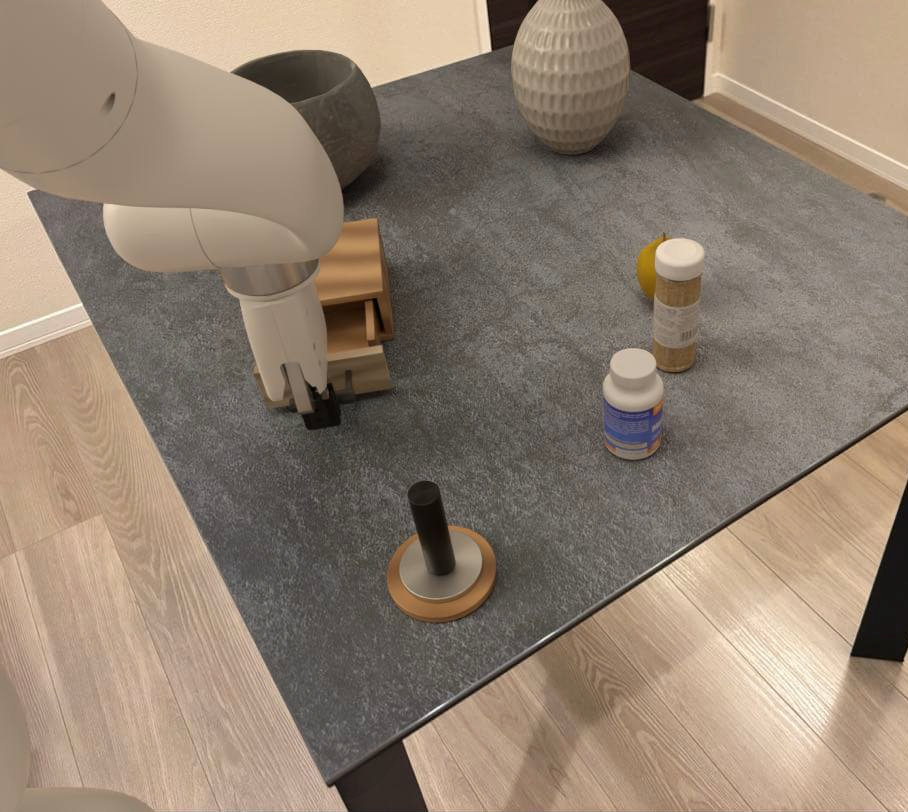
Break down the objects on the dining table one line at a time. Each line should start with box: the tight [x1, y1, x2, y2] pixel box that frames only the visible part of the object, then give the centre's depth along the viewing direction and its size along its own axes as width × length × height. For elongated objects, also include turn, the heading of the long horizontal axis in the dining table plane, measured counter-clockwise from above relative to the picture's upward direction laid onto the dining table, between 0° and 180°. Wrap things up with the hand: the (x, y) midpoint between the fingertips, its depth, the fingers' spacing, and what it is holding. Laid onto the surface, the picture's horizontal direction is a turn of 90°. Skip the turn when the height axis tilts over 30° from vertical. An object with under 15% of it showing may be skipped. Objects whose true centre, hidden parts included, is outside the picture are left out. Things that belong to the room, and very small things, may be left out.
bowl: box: [229, 49, 382, 191], centre depth 112 cm, size 21×21×15 cm
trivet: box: [386, 524, 498, 624], centre depth 68 cm, size 9×9×1 cm
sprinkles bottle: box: [651, 237, 706, 373], centre depth 81 cm, size 5×5×14 cm
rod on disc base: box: [400, 480, 483, 603], centre depth 64 cm, size 7×7×10 cm
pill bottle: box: [602, 347, 665, 461], centre depth 74 cm, size 5×5×10 cm
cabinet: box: [314, 217, 395, 342], centre depth 93 cm, size 15×14×7 cm
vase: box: [510, 0, 631, 156], centre depth 112 cm, size 16×16×22 cm
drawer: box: [253, 298, 393, 414], centre depth 84 cm, size 18×12×5 cm
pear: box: [636, 231, 674, 302], centre depth 90 cm, size 6×6×8 cm
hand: (324, 421), depth 77 cm, fingers closed
